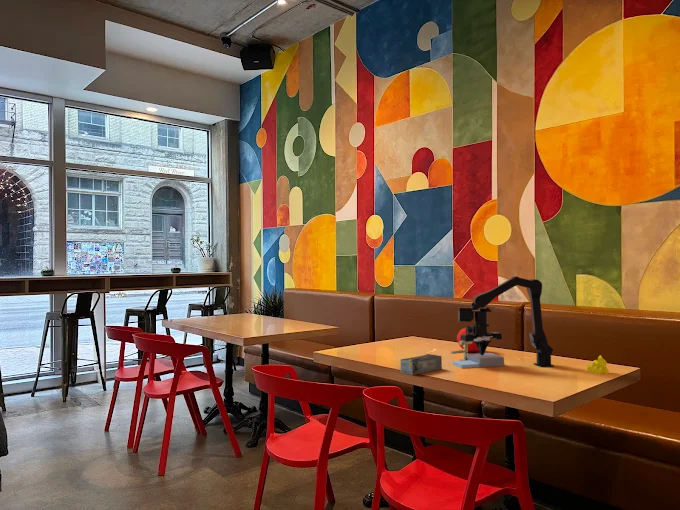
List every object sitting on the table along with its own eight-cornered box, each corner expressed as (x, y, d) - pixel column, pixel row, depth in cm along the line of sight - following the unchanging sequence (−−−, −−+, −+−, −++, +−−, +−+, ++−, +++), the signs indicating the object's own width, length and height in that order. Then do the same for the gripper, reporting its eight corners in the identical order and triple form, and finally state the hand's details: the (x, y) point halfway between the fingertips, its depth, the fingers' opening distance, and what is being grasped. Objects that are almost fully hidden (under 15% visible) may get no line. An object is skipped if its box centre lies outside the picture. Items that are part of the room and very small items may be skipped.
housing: (504, 365, 238) (503, 357, 238) (477, 367, 234) (477, 358, 234) (484, 358, 255) (483, 350, 255) (459, 359, 252) (459, 351, 252)
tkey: (452, 362, 245) (452, 342, 245) (449, 361, 246) (449, 342, 247) (472, 359, 251) (472, 340, 251) (469, 358, 253) (469, 339, 253)
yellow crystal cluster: (589, 370, 228) (589, 352, 228) (609, 372, 223) (609, 354, 223) (586, 372, 223) (586, 354, 223) (606, 374, 218) (606, 356, 219)
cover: (479, 368, 235) (479, 363, 235) (461, 369, 233) (461, 364, 233) (469, 364, 244) (469, 360, 244) (452, 365, 242) (452, 361, 242)
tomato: (490, 352, 274) (490, 326, 274) (475, 355, 265) (474, 328, 265) (466, 348, 286) (465, 323, 286) (450, 351, 277) (450, 325, 277)
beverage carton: (399, 372, 226) (399, 357, 226) (429, 367, 237) (429, 352, 237) (412, 375, 219) (412, 360, 219) (442, 370, 231) (442, 355, 231)
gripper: (490, 318, 251) (491, 351, 250) (454, 320, 246) (455, 353, 246) (502, 321, 240) (503, 355, 240) (465, 323, 235) (466, 357, 235)
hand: (481, 355), depth 240 cm, fingers closed
